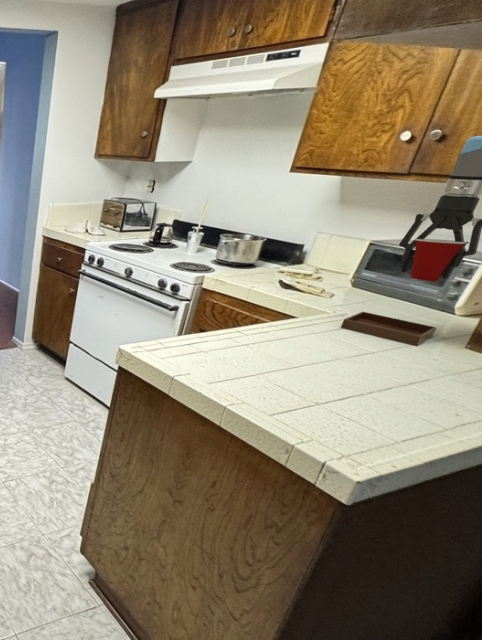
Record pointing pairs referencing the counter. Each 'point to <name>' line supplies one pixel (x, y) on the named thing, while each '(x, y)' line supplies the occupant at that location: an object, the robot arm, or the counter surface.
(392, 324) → the tray
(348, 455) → the counter surface
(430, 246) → the plastic cup
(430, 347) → the counter surface
